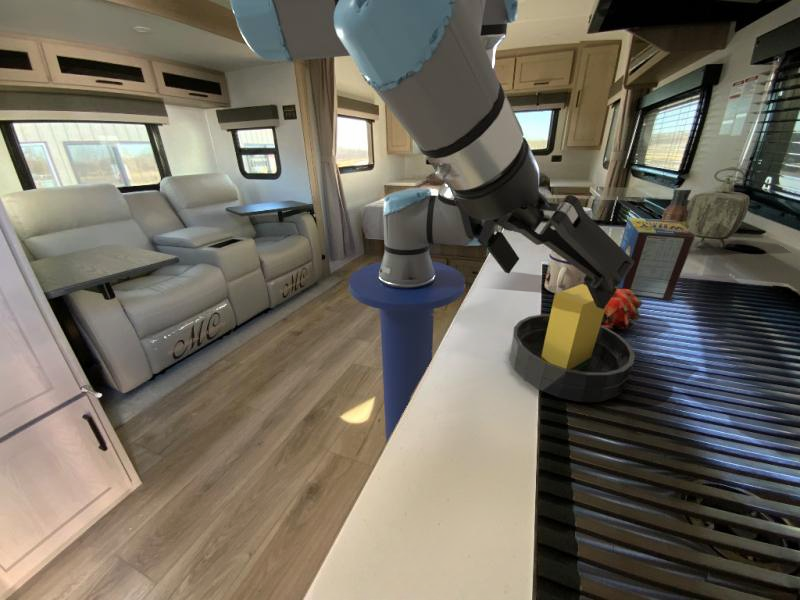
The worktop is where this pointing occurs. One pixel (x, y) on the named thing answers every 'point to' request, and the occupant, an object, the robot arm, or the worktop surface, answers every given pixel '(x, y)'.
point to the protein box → (655, 256)
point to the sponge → (572, 328)
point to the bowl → (583, 385)
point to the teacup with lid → (562, 274)
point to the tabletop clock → (717, 211)
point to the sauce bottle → (678, 206)
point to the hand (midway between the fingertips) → (553, 280)
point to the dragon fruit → (621, 310)
